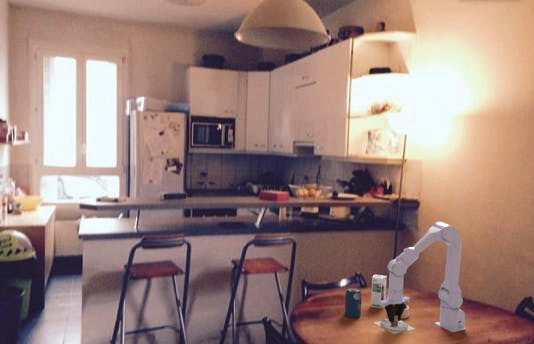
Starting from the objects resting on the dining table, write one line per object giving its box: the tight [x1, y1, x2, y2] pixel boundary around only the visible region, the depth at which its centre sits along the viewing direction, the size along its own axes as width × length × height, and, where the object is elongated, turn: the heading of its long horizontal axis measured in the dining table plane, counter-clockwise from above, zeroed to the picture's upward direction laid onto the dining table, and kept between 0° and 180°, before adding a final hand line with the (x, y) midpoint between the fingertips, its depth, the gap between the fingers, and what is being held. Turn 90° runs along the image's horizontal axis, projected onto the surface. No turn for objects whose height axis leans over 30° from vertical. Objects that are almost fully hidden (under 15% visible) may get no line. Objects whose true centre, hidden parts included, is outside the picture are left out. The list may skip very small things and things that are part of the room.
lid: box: [380, 313, 409, 332], centre depth 180 cm, size 11×11×5 cm
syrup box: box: [370, 274, 388, 309], centre depth 203 cm, size 6×6×14 cm
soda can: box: [344, 287, 363, 319], centre depth 190 cm, size 7×7×12 cm
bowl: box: [393, 304, 410, 319], centre depth 193 cm, size 9×9×4 cm
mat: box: [373, 320, 416, 335], centre depth 180 cm, size 12×12×1 cm
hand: (394, 321), depth 180 cm, fingers closed on lid, 3 cm apart
